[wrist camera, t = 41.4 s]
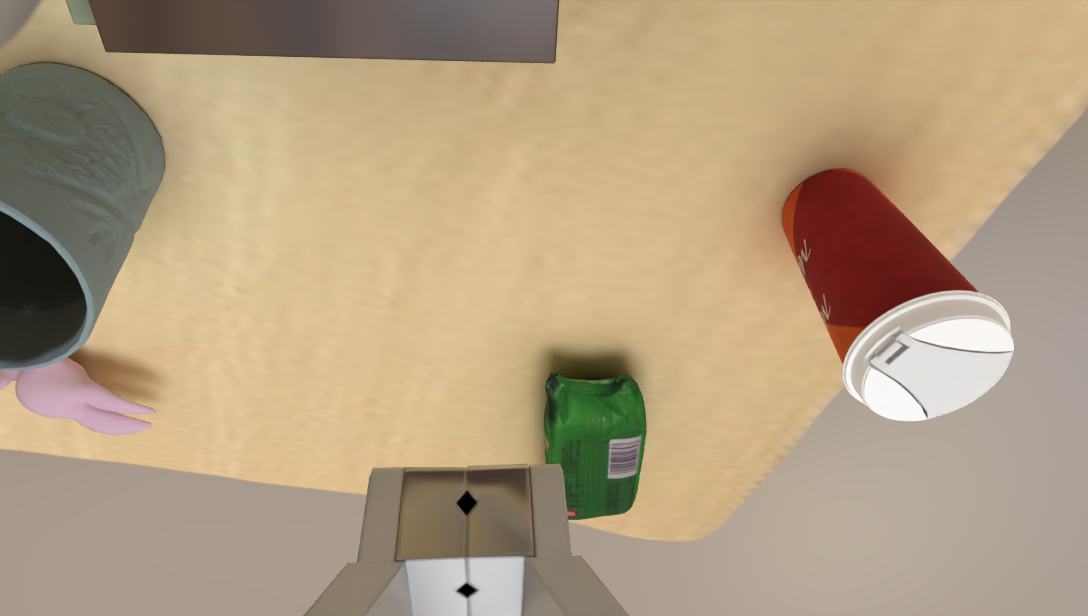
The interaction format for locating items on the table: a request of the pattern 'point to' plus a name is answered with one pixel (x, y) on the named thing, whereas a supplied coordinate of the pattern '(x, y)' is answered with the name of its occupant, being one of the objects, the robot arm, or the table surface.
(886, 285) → the paper cup
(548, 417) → the snack package
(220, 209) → the table surface
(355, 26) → the cabinet
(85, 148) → the grey green plant pot
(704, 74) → the table surface
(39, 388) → the rabbit figure
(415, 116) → the table surface
